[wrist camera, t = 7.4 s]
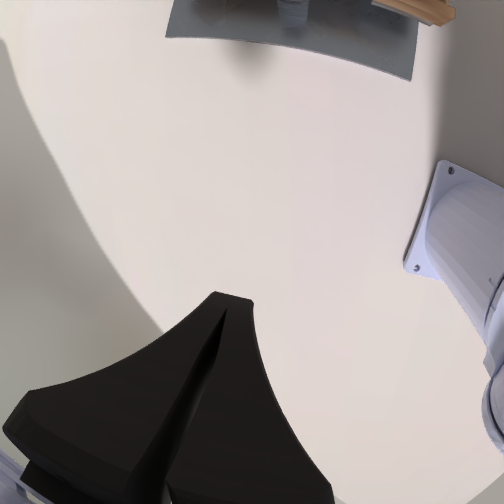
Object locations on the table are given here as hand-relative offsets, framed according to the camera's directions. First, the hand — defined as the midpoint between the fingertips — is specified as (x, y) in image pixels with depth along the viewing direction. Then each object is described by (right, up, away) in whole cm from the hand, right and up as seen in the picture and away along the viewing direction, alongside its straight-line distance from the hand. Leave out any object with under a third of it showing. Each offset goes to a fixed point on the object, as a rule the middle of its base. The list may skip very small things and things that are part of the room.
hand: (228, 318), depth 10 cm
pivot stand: (+4, +19, +1) cm, 20 cm away
